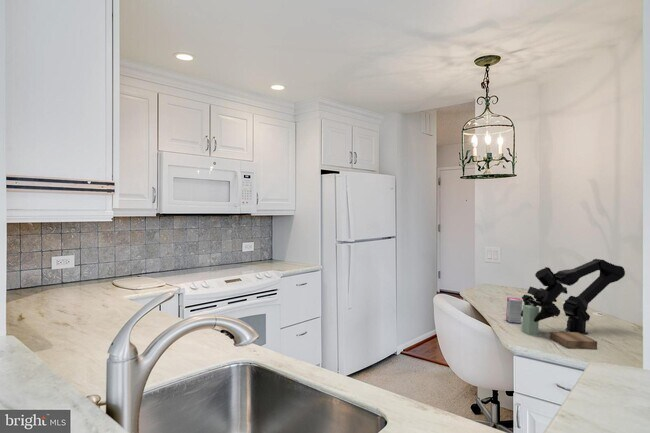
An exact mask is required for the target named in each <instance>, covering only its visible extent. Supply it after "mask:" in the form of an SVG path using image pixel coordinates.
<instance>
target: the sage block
mask: <svg viewBox="0 0 650 433" xmlns="http://www.w3.org/2000/svg"><path fill="white" fill-rule="evenodd" d="M522 310H523V317H522V322H521V325H522V327H521V328H522V330H521V332H522V333H524V334H526V335H527V336H537V335H539V323H540V321H537V322H534V319H535V317H536V316H537V315H538V313H539V312H540V307H539V306H533V305H524V304H522Z"/></svg>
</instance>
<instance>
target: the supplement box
mask: <svg viewBox="0 0 650 433" xmlns="http://www.w3.org/2000/svg"><path fill="white" fill-rule="evenodd" d="M522 310H523V299H522V298H521V299H520V298H519V297H509V296H508V297H507V298H506V314H505V321H506V322H507V323H509V324H515V325H516V324H517V325H522V318H523V317H522V316H521V312H522Z"/></svg>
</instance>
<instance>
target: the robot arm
mask: <svg viewBox="0 0 650 433" xmlns="http://www.w3.org/2000/svg"><path fill="white" fill-rule="evenodd" d="M598 271H599V274H598V277H597V278H596V279H595V280H594V281H592V282H591V284H589V285H588V286H587V287H586V288H585V289H584V290H583V291H582V292H581V293H579V295H577V296H574V295H570V296H569V297H568V298H566V300H564V302H563V304H562V310H563V312H564V314H565V317H567V320H566V328H565V330H566V331H567V332H579V333H581V334H583V335H589V334H588V331H587V330H586V327H587V326H586V325H587V322H588V321H590V319H591V316H590V314H589V313H588V312H587V310H588V308H589V303H591V302H592V301H593V300H594V299H595V298H596V297H597V296H598V295H599V294H600V293H601V292H602V291H604V289H605V288H607V287H608V286H609V285H610V284H612V283H615V282H618V281H620V280H621V279H623V278H624V277H625V275H626V271H625V268H624V267H623V266H621V265H616V264H613V263H611V262H608V261H606V260H605V259H600V258H599V259H598V258H594V259H592V260H590V261H588V262H585V263H584V264H581V265H579V266H577V267H574V268H570V269H561V270H558V271H557V272H556V273H555V272H553V271H552V270H551V268H550V267H548V266H547V267H546V266H545V267H544V268H541V269H539V270H537V271H536V273H535V277H536V279H537V280H538V281H539V282H540V283H541V284H542V285H543V287H546V288H545V289H544V288H542V287H540V288H537V287H535V286H534V287H533V286H529V288H528V290H527V294H524V295H522V297H521V300H522V302H523V305H533V306H536V307H539V308H540V310H539V313H538V315H537V316H536V317H535V319H534V322H537V321H539V322H540V321H543V320H545V319H548V318H554V317H558V316H560V315H561V310H560V308H558V306H557V305H556V304H555V303H557V302H558V299H557V298H558V297H559V296H560V295H561V294H565V295H567V294H568V289H567V288H568V287H565V285H566V286H569V287H571V286H573V285H575V284H576V283H577V282H578V281H579V280H580V279H581V278H583V277H586V276H587V275H590V274H592V273H595V272H598ZM563 285H564V286H563ZM521 316H522V317H521V318H523V309H522V312H521Z"/></svg>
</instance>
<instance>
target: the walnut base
mask: <svg viewBox="0 0 650 433" xmlns="http://www.w3.org/2000/svg"><path fill="white" fill-rule="evenodd" d="M549 339H550V340H552V341H553V342H554V343H556V344H558V343H559V345H561V346H562V347H564V348H565V349H572V348H573V350H575V349H577V350H597V349H598V341H596V340H595V339H593V338H591V337H589V336H587V335H586V334H581V333H579V332H570V331H550V332H549Z"/></svg>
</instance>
